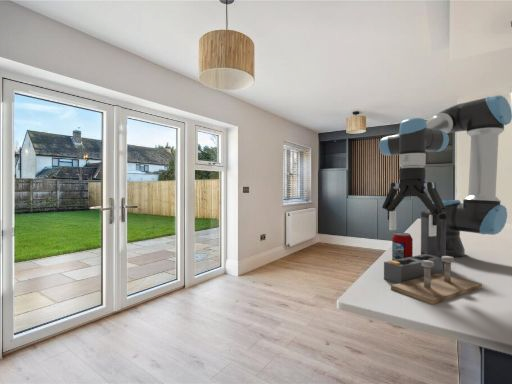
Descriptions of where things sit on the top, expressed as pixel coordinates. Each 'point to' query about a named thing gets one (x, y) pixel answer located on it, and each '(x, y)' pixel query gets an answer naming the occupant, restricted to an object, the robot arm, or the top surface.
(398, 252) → the beverage can
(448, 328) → the top surface
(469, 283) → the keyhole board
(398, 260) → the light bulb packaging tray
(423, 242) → the electronic device
